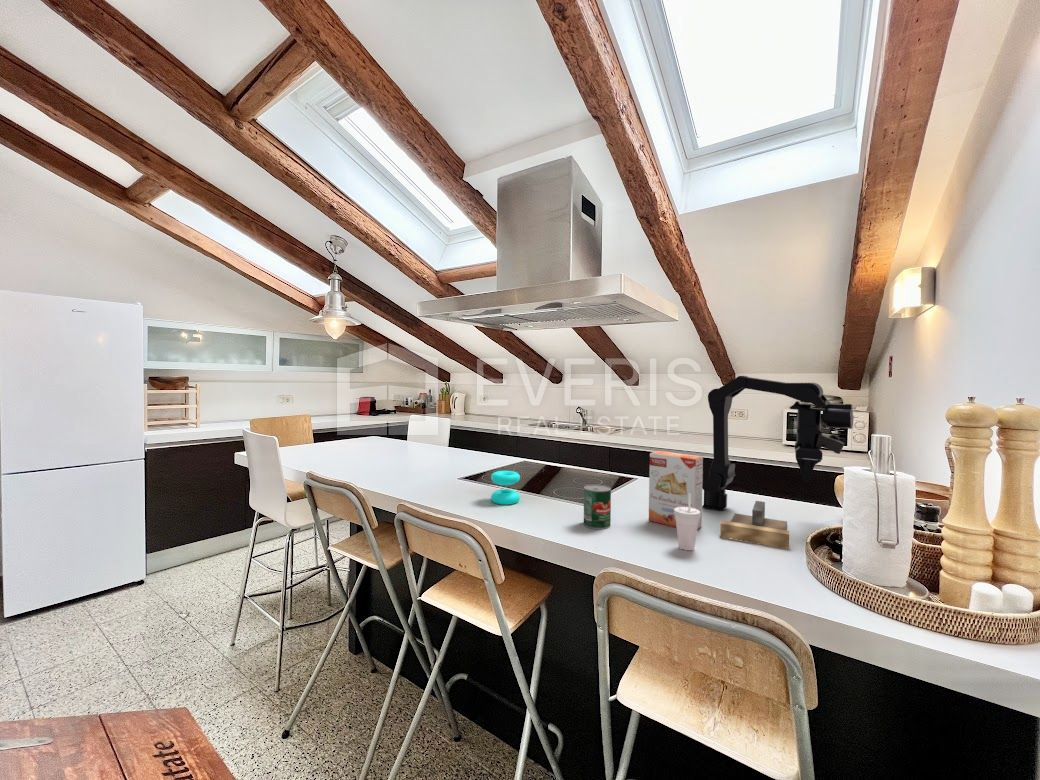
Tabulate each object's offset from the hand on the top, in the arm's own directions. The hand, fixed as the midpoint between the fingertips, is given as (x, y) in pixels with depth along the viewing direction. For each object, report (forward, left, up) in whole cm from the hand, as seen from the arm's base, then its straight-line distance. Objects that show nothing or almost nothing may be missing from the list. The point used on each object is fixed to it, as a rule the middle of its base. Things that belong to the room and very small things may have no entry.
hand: (806, 478), depth 130 cm
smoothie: (-26, -37, -14) cm, 47 cm away
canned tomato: (-52, -33, -14) cm, 63 cm away
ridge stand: (-12, -8, -14) cm, 20 cm away
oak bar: (-12, -22, -14) cm, 29 cm away
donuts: (-88, -28, -14) cm, 93 cm away
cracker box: (-33, -20, -14) cm, 41 cm away
